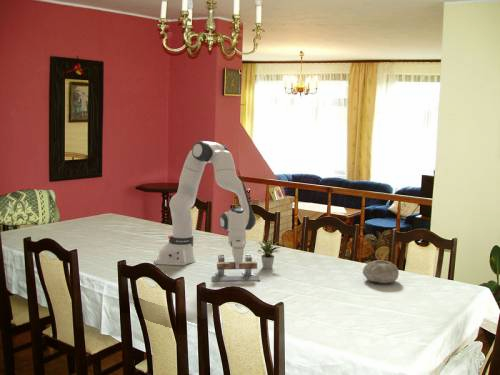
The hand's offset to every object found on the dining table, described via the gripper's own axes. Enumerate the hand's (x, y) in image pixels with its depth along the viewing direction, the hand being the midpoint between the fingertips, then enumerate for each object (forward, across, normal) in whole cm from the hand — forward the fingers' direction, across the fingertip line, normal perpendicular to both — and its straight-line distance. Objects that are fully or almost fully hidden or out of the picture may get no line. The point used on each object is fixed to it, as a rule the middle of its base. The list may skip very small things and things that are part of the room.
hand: (236, 267), depth 301 cm
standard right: (+6, -8, +7) cm, 12 cm away
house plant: (+7, -20, +18) cm, 27 cm away
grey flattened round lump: (+7, +7, +72) cm, 73 cm away
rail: (+1, 0, 0) cm, 1 cm away
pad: (+6, 0, 0) cm, 6 cm away
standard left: (+6, -8, -7) cm, 12 cm away
